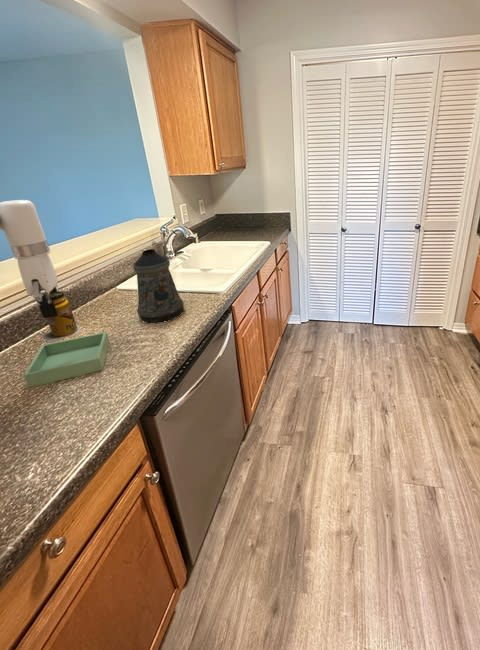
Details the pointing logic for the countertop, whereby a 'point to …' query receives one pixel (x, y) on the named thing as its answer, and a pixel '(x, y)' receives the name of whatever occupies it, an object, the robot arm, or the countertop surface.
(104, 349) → the tray
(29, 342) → the countertop surface
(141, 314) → the beer stein
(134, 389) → the countertop surface
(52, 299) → the condiment
